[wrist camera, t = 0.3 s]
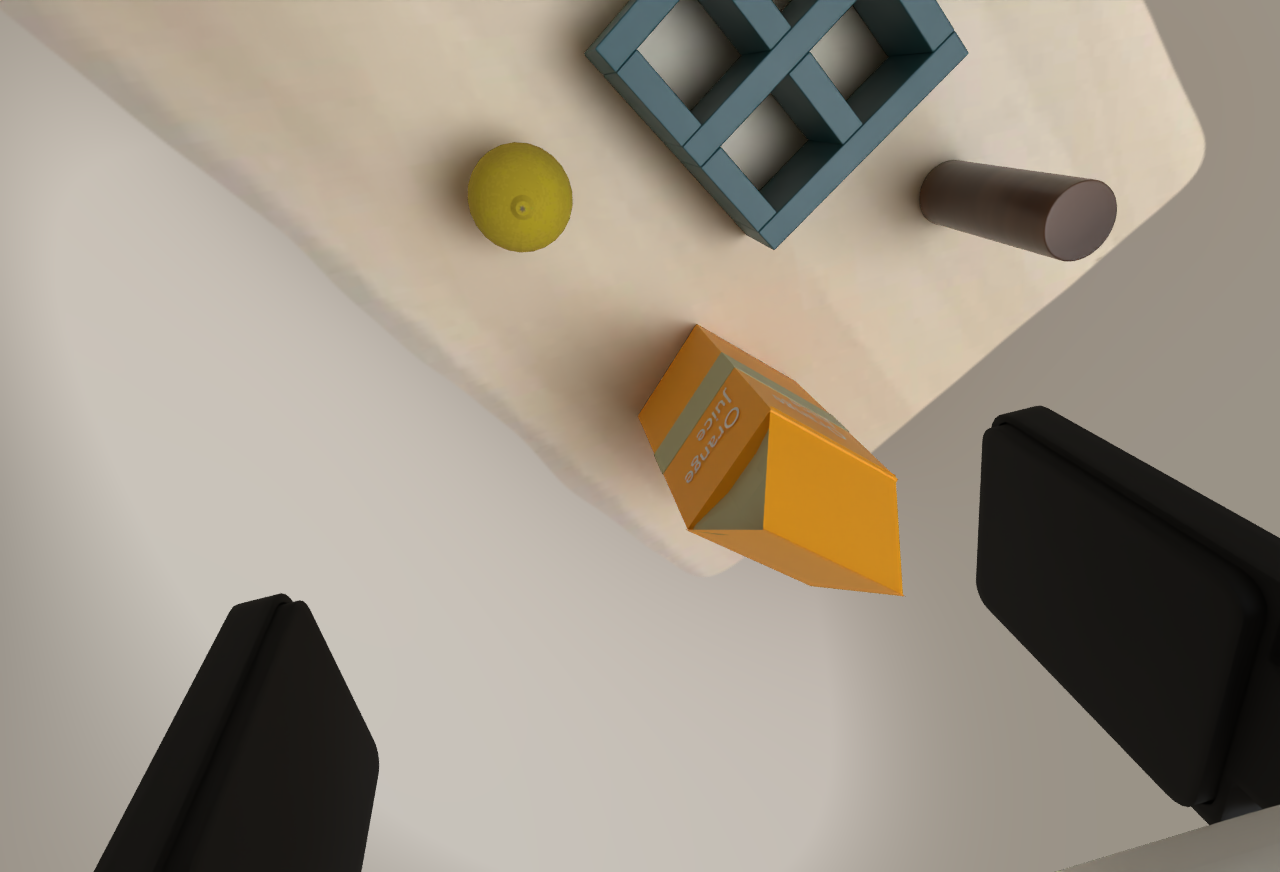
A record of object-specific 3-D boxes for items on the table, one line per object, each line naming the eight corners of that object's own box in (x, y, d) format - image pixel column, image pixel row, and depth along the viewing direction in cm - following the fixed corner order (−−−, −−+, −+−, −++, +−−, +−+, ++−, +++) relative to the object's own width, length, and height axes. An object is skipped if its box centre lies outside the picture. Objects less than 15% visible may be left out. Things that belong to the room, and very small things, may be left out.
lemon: (468, 135, 40) (462, 143, 33) (567, 142, 41) (582, 151, 34) (471, 236, 43) (466, 264, 36) (564, 240, 44) (577, 268, 37)
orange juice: (696, 321, 47) (816, 456, 30) (797, 380, 51) (960, 534, 33) (635, 418, 50) (712, 598, 32) (736, 468, 53) (857, 658, 35)
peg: (907, 193, 46) (1030, 223, 36) (955, 146, 46) (1096, 161, 35) (939, 237, 48) (1066, 277, 37) (987, 191, 47) (1130, 220, 37)
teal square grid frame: (583, 54, 40) (594, 48, 35) (772, -167, 37) (810, -203, 33) (747, 235, 46) (774, 251, 41) (920, 57, 43) (969, 53, 38)
